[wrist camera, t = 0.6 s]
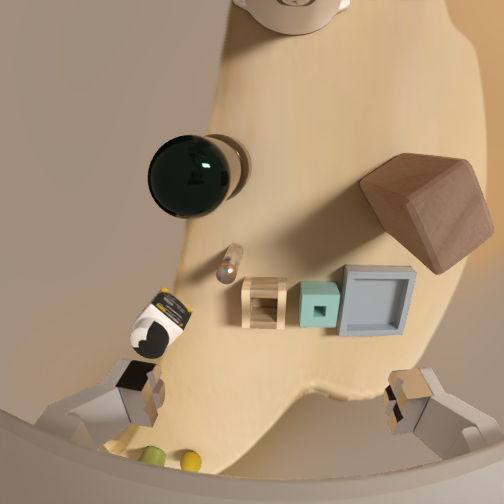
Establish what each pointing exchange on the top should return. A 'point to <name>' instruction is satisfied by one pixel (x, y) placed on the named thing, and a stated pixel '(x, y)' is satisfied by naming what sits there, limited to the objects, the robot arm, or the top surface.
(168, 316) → the medicine bottle
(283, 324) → the wide bore block
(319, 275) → the top surface
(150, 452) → the plant pot
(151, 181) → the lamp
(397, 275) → the tray
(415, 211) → the block
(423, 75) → the top surface
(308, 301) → the narrow bore block
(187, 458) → the lemon
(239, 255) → the cylinder
